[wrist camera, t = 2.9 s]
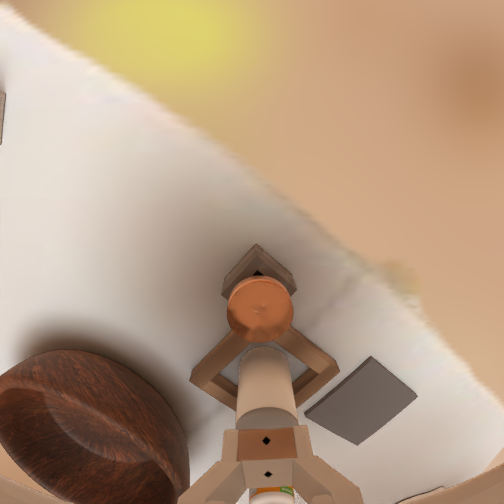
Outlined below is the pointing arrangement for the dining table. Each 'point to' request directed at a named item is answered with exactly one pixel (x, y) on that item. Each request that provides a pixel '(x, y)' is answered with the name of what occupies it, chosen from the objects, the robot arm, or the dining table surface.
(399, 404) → the pad
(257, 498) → the supplement bottle
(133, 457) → the wooden bowl
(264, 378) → the cylinder
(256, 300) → the plunger
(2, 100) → the coffee box
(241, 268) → the square wooden frame
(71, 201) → the dining table surface
